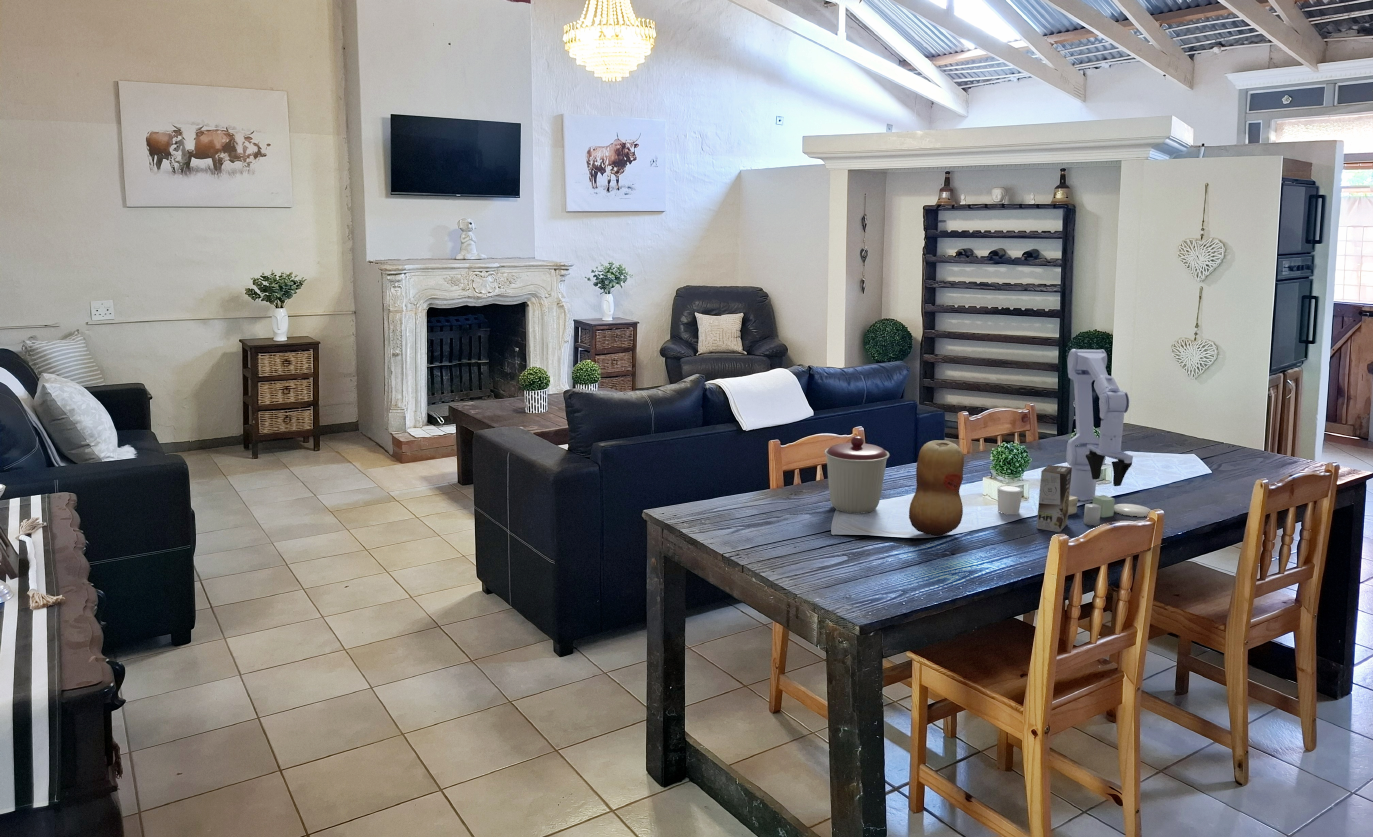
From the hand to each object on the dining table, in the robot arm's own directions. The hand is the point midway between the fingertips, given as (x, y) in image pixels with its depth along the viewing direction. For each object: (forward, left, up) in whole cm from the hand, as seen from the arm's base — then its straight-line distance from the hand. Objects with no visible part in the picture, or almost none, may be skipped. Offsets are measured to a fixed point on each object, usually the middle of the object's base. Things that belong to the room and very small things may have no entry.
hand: (1106, 482), depth 284 cm
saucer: (+1, +10, -9) cm, 14 cm away
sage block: (0, 0, -10) cm, 10 cm away
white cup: (-12, -23, -10) cm, 28 cm away
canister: (-31, -62, -10) cm, 70 cm away
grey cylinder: (+5, -9, -10) cm, 14 cm away
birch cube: (-6, -8, -10) cm, 14 cm away
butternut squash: (-3, -55, -10) cm, 56 cm away
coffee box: (+3, -21, -10) cm, 23 cm away
